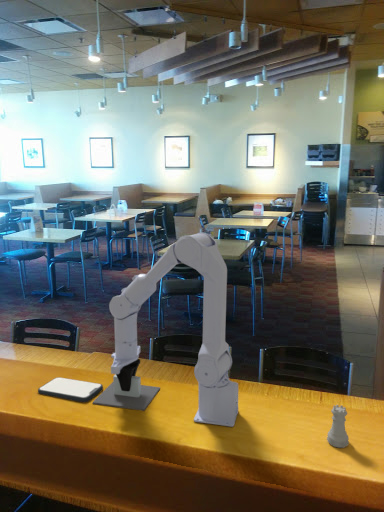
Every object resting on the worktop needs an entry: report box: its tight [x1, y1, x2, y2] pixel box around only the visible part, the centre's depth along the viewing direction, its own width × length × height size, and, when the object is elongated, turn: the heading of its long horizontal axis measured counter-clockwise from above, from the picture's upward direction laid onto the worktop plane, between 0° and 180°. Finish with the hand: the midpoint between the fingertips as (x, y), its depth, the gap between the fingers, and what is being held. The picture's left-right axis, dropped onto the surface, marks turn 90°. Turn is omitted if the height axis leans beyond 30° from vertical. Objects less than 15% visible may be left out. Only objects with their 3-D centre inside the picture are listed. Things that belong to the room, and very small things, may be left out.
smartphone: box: [37, 377, 104, 403], centre depth 112 cm, size 9×2×16 cm
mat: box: [92, 381, 161, 412], centre depth 109 cm, size 14×12×1 cm
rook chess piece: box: [326, 404, 350, 449], centre depth 88 cm, size 4×4×8 cm
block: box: [112, 374, 142, 397], centre depth 109 cm, size 7×2×5 cm, turn 75°
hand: (127, 388), depth 109 cm, fingers closed on block, 2 cm apart
